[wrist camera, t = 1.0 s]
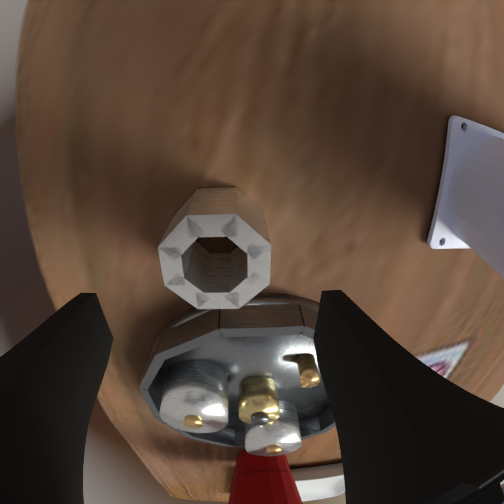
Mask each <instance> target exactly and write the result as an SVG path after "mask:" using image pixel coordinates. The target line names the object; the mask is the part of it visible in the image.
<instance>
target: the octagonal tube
mask: <svg viewBox="0 0 504 504" xmlns="http://www.w3.org/2000/svg"><path fill="white" fill-rule="evenodd" d="M198 237H228V238H229V239H230V240H231V241H233V242H234V243H235V244H236V245H237V246H238V247H237V248H236V249H235V250H233V251H232V252H231V253H210V252H209V251H207V250H206V249H205V248H204V247H202V246H201V245H200V244H199V243H197V242H196V241H195V240H196V239H197V238H198ZM158 252H159V258H160V263H161V269H162V274H163V279H164V284H165V286H166V287H167V288H169V289H170V290H172V291H173V292H174V293H176V294H177V295H178V296H180V297H181V298H183V299H184V300H185V301H187V302H188V303H190V304H191V305H193V306H194V307H195V308H197V309H239V308H241V307H242V306H243V305H244V304H246V303H247V302H248V301H249V300H251V299H252V298H253V297H254V296H256V295H257V294H258V293H259V292H261V291H262V290H263V289H264V288H265V287H267V286H268V285H269V284H270V261H271V242H270V238H269V233H268V228H267V223H266V219H265V214H264V212H263V211H262V210H261V209H260V208H259V207H258V206H257V205H256V204H255V203H254V202H253V201H252V200H250V199H249V198H248V197H247V196H246V195H245V194H244V193H243V192H242V191H241V190H240V189H239V188H237V187H221V188H198V189H197V190H196V191H195V192H194V193H193V195H192V196H191V197H190V198H189V199H188V200H187V201H186V202H185V203H184V204H183V206H182V207H181V208H180V209H179V210H178V211H177V212H176V213H175V215H174V216H173V218H172V220H171V222H170V224H169V226H168V228H167V230H166V232H165V234H164V236H163V238H162V240H161V242H160V244H159V246H158Z"/></svg>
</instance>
